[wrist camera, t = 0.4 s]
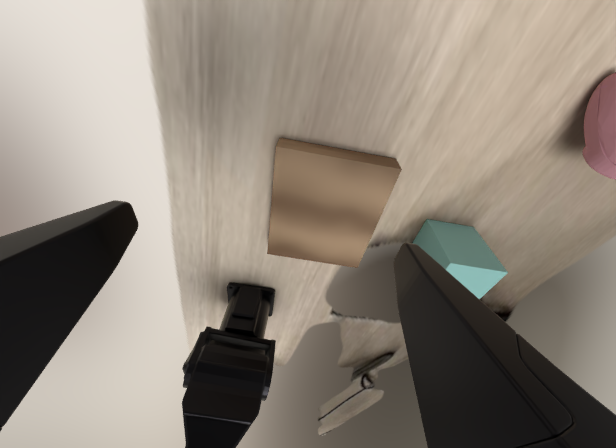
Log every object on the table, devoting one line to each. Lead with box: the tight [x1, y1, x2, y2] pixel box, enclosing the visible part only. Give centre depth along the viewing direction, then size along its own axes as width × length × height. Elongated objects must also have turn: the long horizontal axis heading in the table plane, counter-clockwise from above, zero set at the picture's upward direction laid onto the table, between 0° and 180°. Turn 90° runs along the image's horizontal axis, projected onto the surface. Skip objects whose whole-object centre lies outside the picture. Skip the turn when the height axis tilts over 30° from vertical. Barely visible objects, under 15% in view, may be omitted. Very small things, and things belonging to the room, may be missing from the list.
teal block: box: [412, 219, 508, 299], centre depth 24 cm, size 5×5×6 cm
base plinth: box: [267, 138, 402, 268], centre depth 23 cm, size 12×10×2 cm
